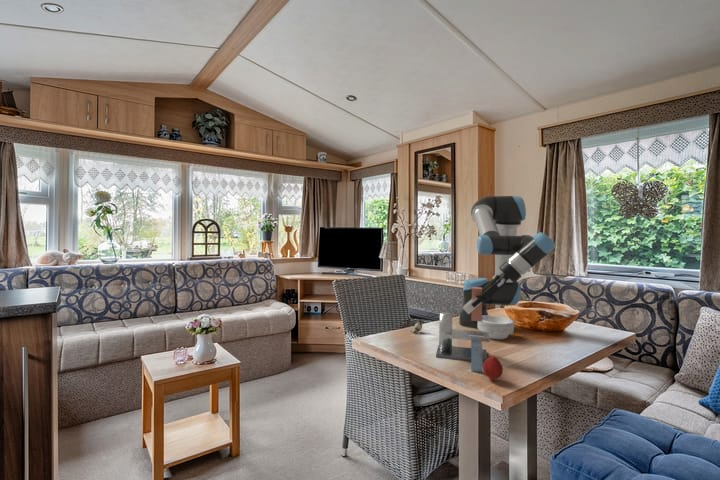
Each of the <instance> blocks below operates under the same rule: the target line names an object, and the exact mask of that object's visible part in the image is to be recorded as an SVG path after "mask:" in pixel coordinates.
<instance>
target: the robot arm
mask: <svg viewBox="0 0 720 480" xmlns="http://www.w3.org/2000/svg"><path fill="white" fill-rule="evenodd" d="M470 216H471V219H472V220H473V221H474V223H475V225H476V228H477V231H478V234H479V235H478V237H477V240H476V248H477V249H476V251H477V253H478V254H479V255H486V256H491V255H492V256H496V258H495V259H496V260H495V274H494V275H493V276H492V278H491V280H490V281H489V280H488V278H486V277H475V278H474V277H473V278H469V279H465V280H464V282H463V286H462V287H463V288H462V293H463V294H462V310H461V313H460V315H459V319H458V324H459V325H461V326H462V327H468V328H474V329H478V327H477V326H478V321H472V311H473V310H474V309H475V308H477V307H478V306H479V305H480V304H481V303H482V316H486V315H489V312H488V305H493V306H507V307H509V306H516V305H517V304H518V303H519V302H520V299H521V294H522V289H521V288H522V285H521V283H520V282H518V280H520V278H522V275H525V274H526V273H530V272H531V271H532V270H531V269H532V268H533V267H534V266H536V265H537V264H538V263H540V262H541V261H542V260H543V259H544V258H545V257H547V255H550V254H551V252H552V251H553V250H554V249H555V248H556V243H555V242H554V241H553V240H552V238H550V237H549V236H548V235H547V234H545V233H544V232H541V231H540V232H537V233H536V234H534V235H533V236H532V235H530V234H522V235H517V233H518V228H519V227H520V226H521V225H522V222H523V221H524V220H525V219H526V216H527V210H526V203H525V201H524V198H523V197H521V196H517V195H501V196H500V195H499V196H498V195H495V196H494V195H493V196H492V195H489V196H484V197H482V198H480V199H478V200H477V201H475V202H474V204H473V205H472V207H471V210H470ZM472 287H481V288H482V293H481V294H480V295H479V296H477V295H476V298H475V299H474V300H472Z"/></svg>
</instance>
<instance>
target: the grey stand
mask: <svg viewBox="0 0 720 480" xmlns="http://www.w3.org/2000/svg"><path fill="white" fill-rule="evenodd" d="M438 320H439V321H438V322H439V327H438V328H439V331H438V334H439V335H438V345H437V346H438V347H437V349H436V353H435V358H441V359H450V360H451V359H452V360H460V361H461V360H462V361H469V362H470V372H473V373H474V372H476V373H483V363H484V362H485V360H486V359H488V358H489V357H488V352H487V349H484V348H483V342H485V343H490V340H491V338H489V334H488V332H482V331H481V330H478V331H477V330H469V329H468V330H466V329H457V328H453V313H451V312H445V311H443V312H439V319H438ZM453 339H454V340H464V341H465V340H466V341H470V347H465V346H464V347H463V346H453Z"/></svg>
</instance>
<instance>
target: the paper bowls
mask: <svg viewBox="0 0 720 480" xmlns="http://www.w3.org/2000/svg"><path fill="white" fill-rule="evenodd" d="M477 327H478V328H477V330H478V331H480V332H488V334H489V338H490V340H491V339H493V340H505V339H508V337H509V335H511V334H513V333H514V330H515V329H514V328H515V321H514V320H513V319H511V318H508V317H505V316H498V315H489V314H488V315H486V316H482V322H481V321H478V326H477Z"/></svg>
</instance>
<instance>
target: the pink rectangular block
mask: <svg viewBox="0 0 720 480" xmlns="http://www.w3.org/2000/svg"><path fill="white" fill-rule="evenodd" d="M481 293H482V288H481V287H472V300H474V299H475V298H476V295H477V296H479V295H480V294H481ZM472 321H481V322H482V303H481V304H480V305H479V306H478V307H477V308H475V309H474V310H473V311H472Z"/></svg>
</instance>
